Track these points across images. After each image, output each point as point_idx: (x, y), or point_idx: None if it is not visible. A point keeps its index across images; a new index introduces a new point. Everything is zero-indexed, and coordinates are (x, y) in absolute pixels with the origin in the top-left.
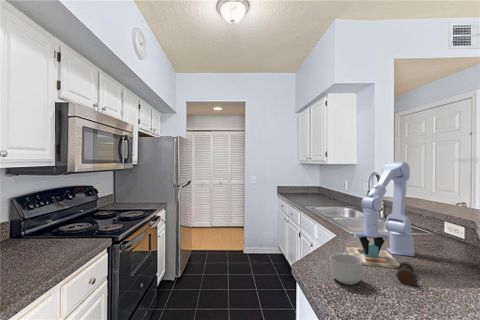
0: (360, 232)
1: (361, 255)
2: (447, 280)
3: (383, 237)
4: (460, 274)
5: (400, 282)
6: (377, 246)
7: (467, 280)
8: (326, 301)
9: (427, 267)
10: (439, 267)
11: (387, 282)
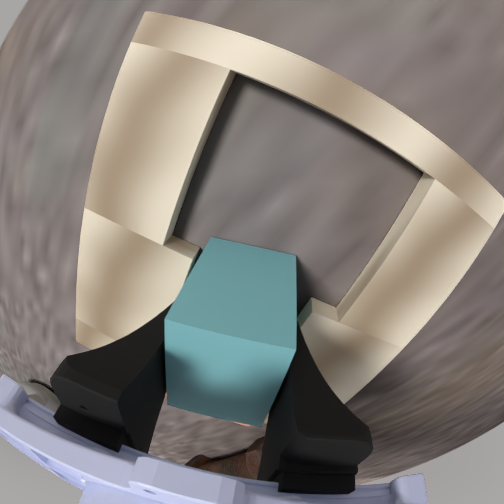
0: (37, 451)
1: (158, 282)
2: (369, 464)
3: (353, 500)
4: (463, 434)
5: (194, 457)
6: (261, 421)
7: (424, 458)
8: None
9: (446, 405)
10: (484, 400)
11: (156, 445)
